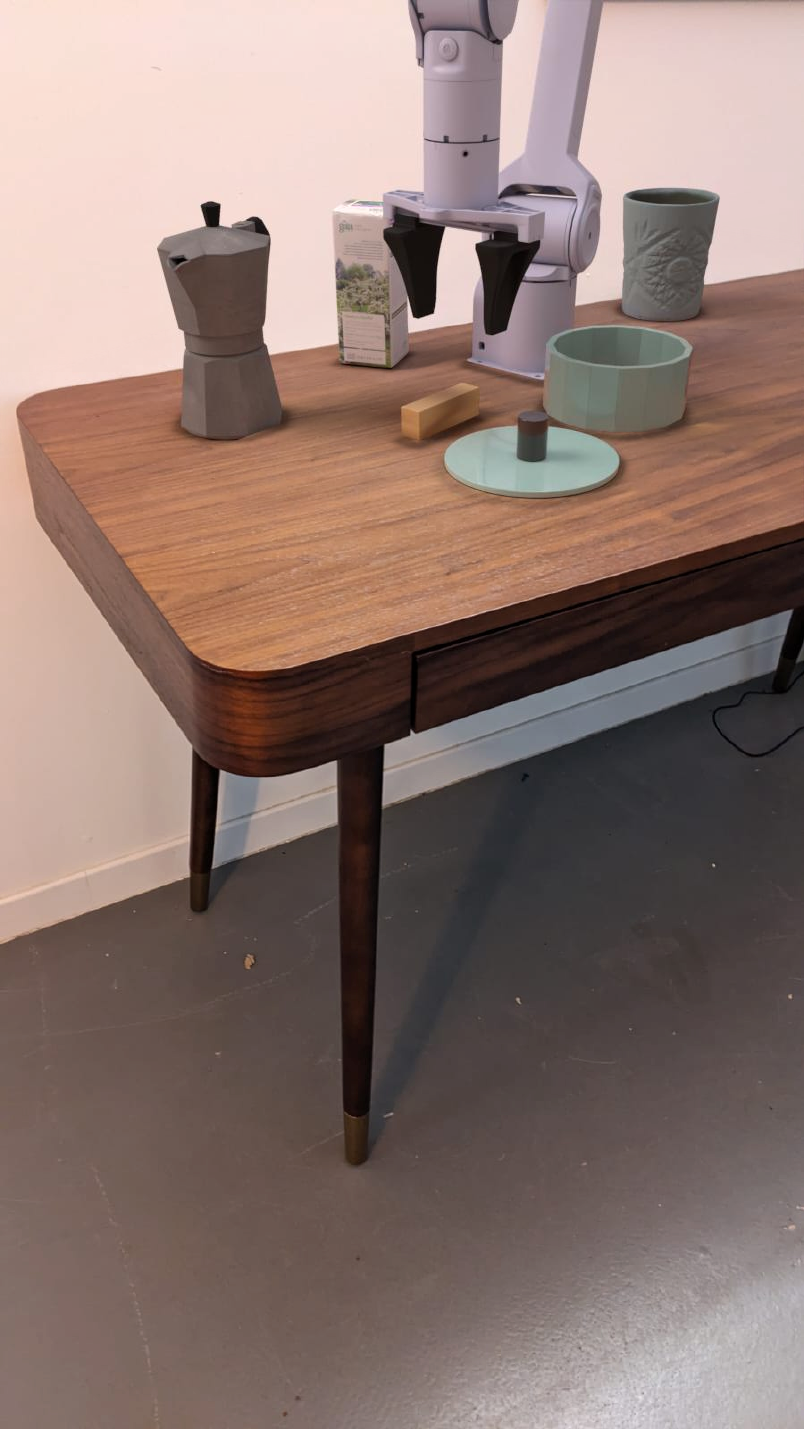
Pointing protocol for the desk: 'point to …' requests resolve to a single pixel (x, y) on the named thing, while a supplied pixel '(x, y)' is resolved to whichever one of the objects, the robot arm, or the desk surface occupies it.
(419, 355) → the desk surface
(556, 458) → the lid
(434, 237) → the robot arm
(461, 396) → the tan wooden block
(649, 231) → the drinking glass
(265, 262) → the coffeepot
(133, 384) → the desk surface
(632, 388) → the pot
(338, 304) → the syrup box
